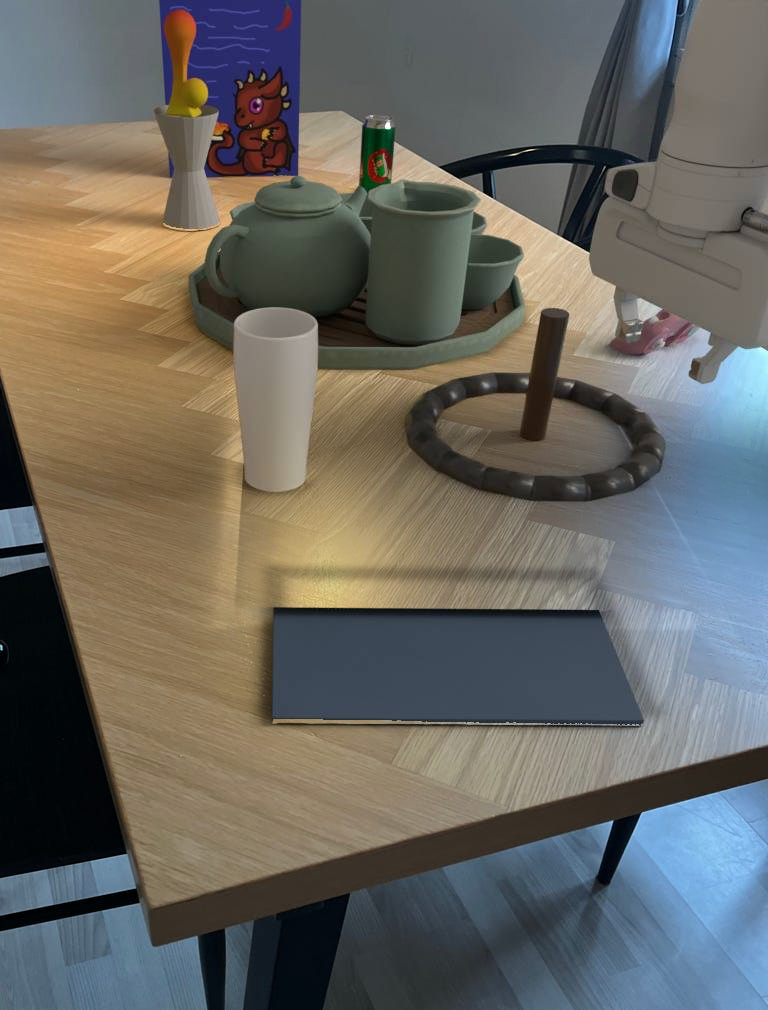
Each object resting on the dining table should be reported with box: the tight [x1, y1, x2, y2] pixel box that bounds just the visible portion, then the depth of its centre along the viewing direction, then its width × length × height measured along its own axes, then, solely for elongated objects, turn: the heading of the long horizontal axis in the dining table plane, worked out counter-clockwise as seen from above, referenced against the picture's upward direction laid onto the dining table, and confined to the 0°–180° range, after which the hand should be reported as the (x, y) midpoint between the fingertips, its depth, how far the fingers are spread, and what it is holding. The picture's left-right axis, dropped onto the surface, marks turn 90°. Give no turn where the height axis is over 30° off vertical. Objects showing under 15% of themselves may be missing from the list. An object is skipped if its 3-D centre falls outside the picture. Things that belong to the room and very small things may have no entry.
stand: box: [518, 307, 570, 443], centre depth 88 cm, size 8×8×13 cm
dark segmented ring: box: [403, 371, 667, 503], centre depth 91 cm, size 24×24×3 cm
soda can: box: [358, 114, 397, 193], centre depth 151 cm, size 5×5×12 cm
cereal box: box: [158, 0, 302, 179], centre depth 158 cm, size 22×6×30 cm, turn 96°
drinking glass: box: [232, 307, 319, 493], centre depth 81 cm, size 7×7×15 cm
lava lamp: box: [153, 9, 221, 229], centre depth 134 cm, size 9×9×35 cm
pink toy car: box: [608, 309, 701, 356], centre depth 108 cm, size 10×5×7 cm, turn 126°
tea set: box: [187, 175, 526, 371], centre depth 113 cm, size 40×40×16 cm
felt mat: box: [271, 606, 645, 725], centre depth 69 cm, size 24×15×1 cm, turn 90°
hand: (662, 359), depth 87 cm, fingers open, 8 cm apart
